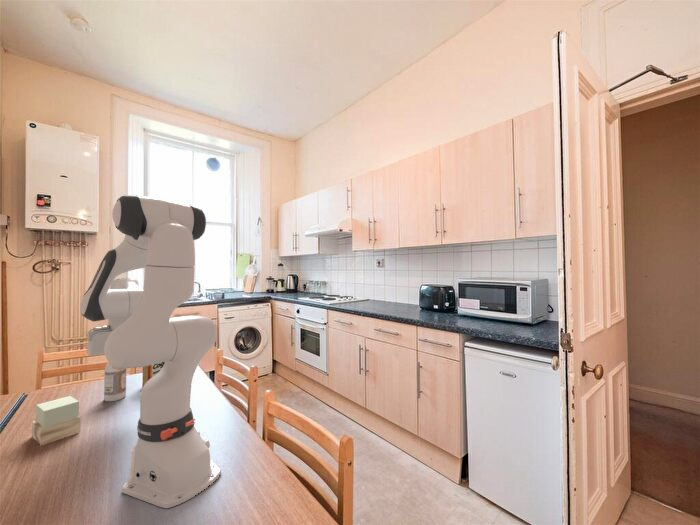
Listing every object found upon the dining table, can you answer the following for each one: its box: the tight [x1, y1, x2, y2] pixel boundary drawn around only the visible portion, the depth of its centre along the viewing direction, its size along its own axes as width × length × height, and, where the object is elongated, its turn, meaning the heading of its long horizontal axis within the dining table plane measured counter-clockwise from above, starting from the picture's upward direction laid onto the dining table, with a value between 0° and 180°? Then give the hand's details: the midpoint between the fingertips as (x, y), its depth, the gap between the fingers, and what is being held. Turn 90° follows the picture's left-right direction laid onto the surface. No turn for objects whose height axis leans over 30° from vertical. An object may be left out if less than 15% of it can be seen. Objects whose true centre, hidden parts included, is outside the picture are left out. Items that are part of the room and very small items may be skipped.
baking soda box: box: [141, 362, 165, 388], centre depth 136 cm, size 10×6×16 cm
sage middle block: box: [35, 395, 80, 428], centre depth 95 cm, size 8×8×5 cm
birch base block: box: [31, 416, 81, 447], centre depth 95 cm, size 9×9×5 cm
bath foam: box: [103, 361, 127, 402], centre depth 122 cm, size 7×7×20 cm
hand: (123, 362), depth 108 cm, fingers closed on terracotta cube, 5 cm apart
